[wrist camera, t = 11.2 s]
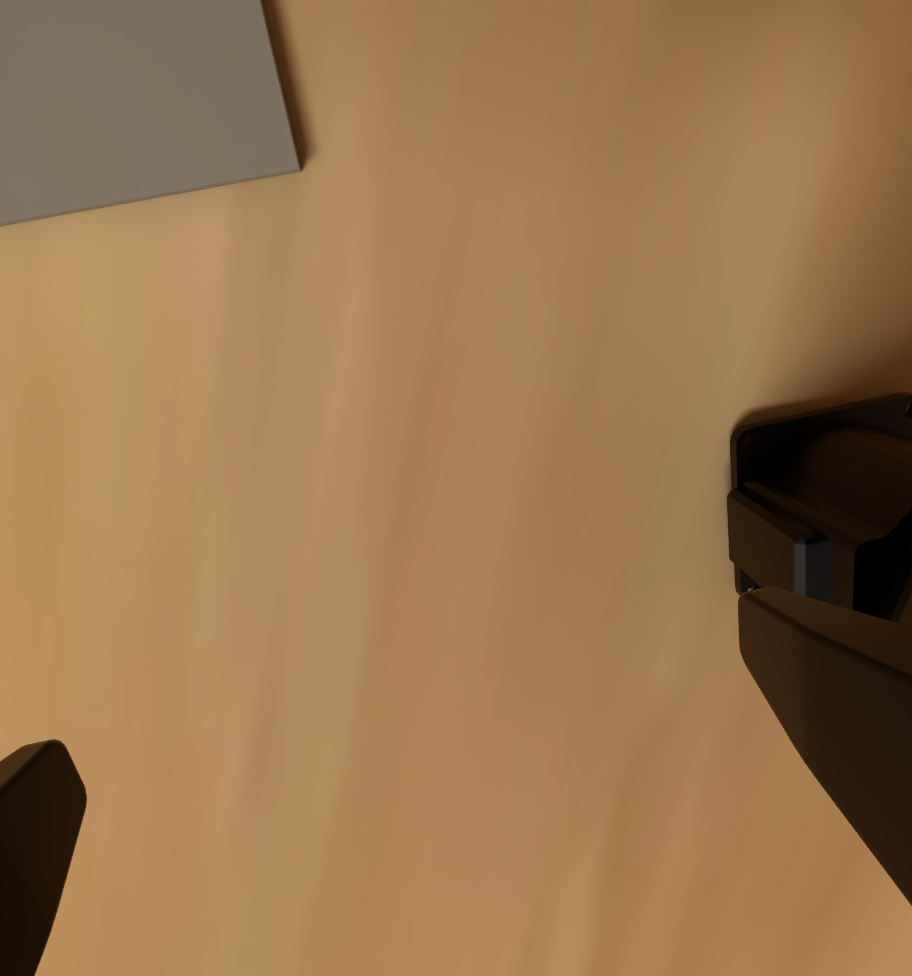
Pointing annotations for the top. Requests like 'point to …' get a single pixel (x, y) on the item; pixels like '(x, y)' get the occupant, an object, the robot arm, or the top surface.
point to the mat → (135, 102)
